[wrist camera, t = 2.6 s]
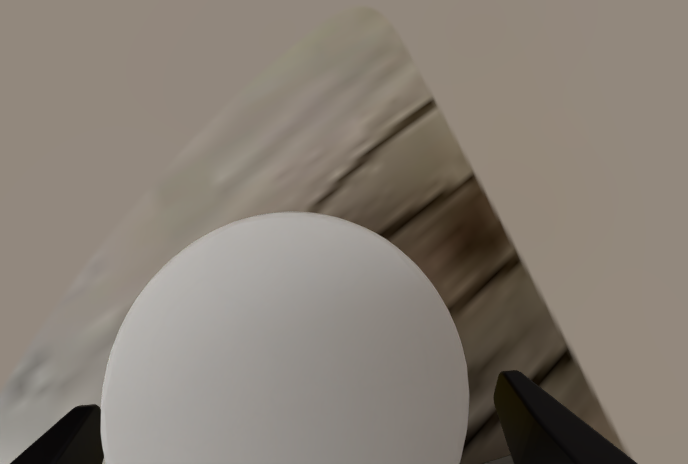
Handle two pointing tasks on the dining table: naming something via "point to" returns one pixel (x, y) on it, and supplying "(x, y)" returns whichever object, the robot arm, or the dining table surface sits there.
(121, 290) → the dining table surface
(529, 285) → the dining table surface
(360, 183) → the dining table surface
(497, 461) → the tray
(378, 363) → the supplement bottle
